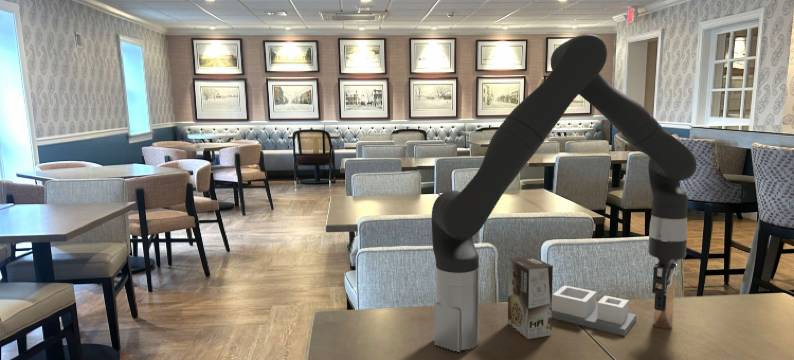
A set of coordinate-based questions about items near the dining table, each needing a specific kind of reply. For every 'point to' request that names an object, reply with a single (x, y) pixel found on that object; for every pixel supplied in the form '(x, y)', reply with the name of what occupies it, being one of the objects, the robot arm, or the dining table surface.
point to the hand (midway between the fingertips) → (663, 303)
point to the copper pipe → (666, 317)
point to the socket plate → (592, 310)
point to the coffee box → (530, 296)
